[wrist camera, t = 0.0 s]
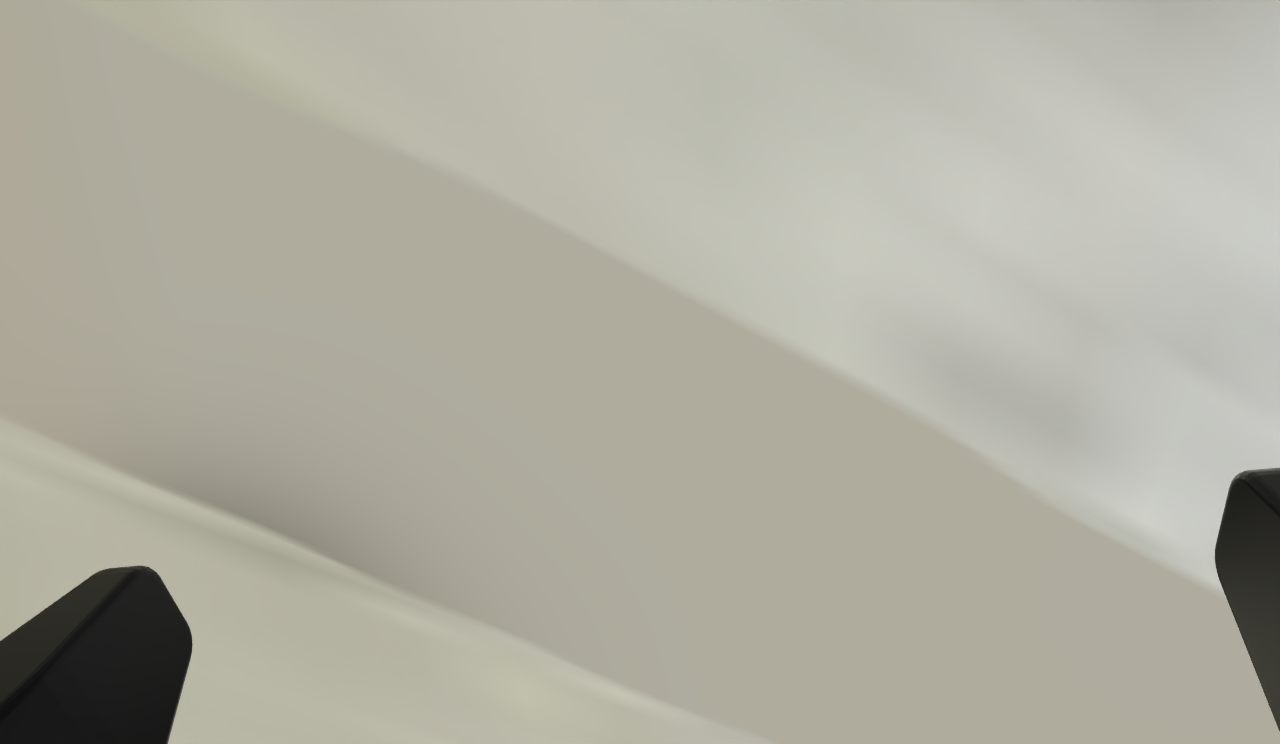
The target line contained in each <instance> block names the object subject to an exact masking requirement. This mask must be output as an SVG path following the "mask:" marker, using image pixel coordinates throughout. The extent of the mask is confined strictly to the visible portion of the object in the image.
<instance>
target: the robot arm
mask: <svg viewBox="0 0 1280 744" xmlns="http://www.w3.org/2000/svg"><path fill="white" fill-rule="evenodd" d="M1215 563H1216V569H1217V573H1218V577H1219V580H1220V583H1221V585H1222V588H1223V590H1224V593H1225V595H1226V598H1227V600H1228V603H1229V605H1230V608H1231V610H1232V613H1233V615H1234V618H1235V620H1236V623H1237V625H1238V628H1239V630H1240V633H1241V635H1242V638H1243V640H1244V643H1245V645H1246V648H1247V650H1248V653H1249V655H1250V658H1251V661H1252V663H1253V666H1254V668H1255V671H1256V673H1257V676H1258V678H1259V680H1260V683H1261V686H1262V688H1263V690H1264V693H1265V696H1266V698H1267V701H1268V703H1269V706H1270V708H1271V711H1272V713H1273V716H1274V718H1275V721H1276V723H1277V726H1278V728H1279V731H1280V468H1271V469H1260V470H1248V471H1244V472H1242V473H1239V474H1238V475H1236V476H1235V478H1234V479H1233V480H1232V482H1231V485H1230V488H1229V491H1228V496H1227V500H1226V504H1225V508H1224V513H1223V517H1222V521H1221V525H1220V529H1219V534H1218V538H1217V542H1216V548H1215ZM191 653H192V635H191V631H190V628H189V626H188V624H187V622H186V620H185V618H184V617H183V615H182V613H181V612H180V610H179V608H178V607H177V605H176V603H175V602H174V600H173V598H172V596H171V595H170V593H169V591H168V590H167V588H166V586H165V585H164V583H163V581H162V580H161V578H160V576H159V575H158V574H157V572H155V571H154V570H152V569H151V568H149V567H145V566H131V567H119V568H109V569H105V570H101V571H99V572H97V573H95V574H94V575H92V576H91V577H89V578H88V579H87V580H85V581H84V582H82V583H81V584H80V585H78V586H77V587H75V588H74V589H73V590H71V591H70V592H68V593H67V594H66V595H64V596H63V597H61V598H60V599H59V600H57V601H56V602H54V603H53V604H52V605H50V606H49V607H47V608H46V609H45V610H43V611H42V612H40V613H39V614H38V615H36V616H35V617H33V618H32V619H31V620H29V621H28V622H26V623H25V624H24V625H22V626H21V627H19V628H18V629H17V630H15V631H14V632H12V633H11V634H10V635H8V636H7V637H5V638H4V639H3V640H1V641H0V744H168V740H169V736H170V733H171V729H172V725H173V722H174V718H175V714H176V710H177V707H178V703H179V699H180V696H181V692H182V688H183V684H184V681H185V677H186V673H187V670H188V666H189V662H190V659H191Z"/></svg>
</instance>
